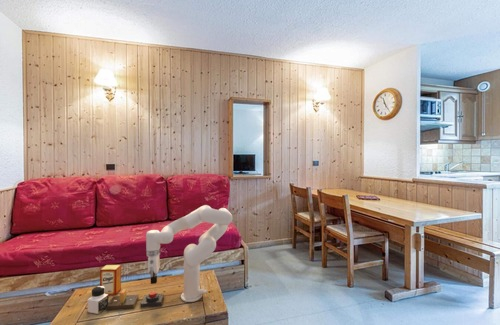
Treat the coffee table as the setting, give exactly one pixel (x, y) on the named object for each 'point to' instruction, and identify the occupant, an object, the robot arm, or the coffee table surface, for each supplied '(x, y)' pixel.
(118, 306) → the plate
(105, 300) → the medicine bottle
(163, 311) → the coffee table surface
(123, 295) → the orange block red tip
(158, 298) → the box
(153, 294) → the door button
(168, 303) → the coffee table surface
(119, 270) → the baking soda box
